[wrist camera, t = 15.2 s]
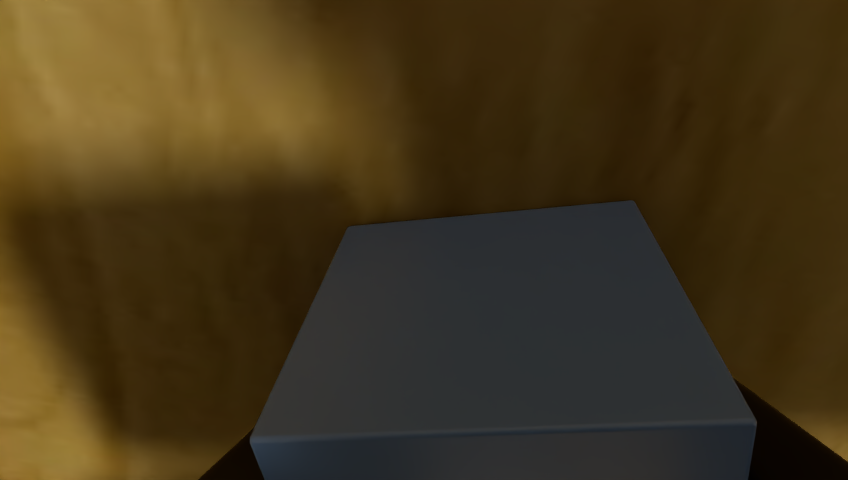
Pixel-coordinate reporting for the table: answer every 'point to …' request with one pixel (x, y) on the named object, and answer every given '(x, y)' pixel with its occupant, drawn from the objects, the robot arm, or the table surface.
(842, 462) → the robot arm
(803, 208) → the table surface
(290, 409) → the blue block
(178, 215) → the table surface
